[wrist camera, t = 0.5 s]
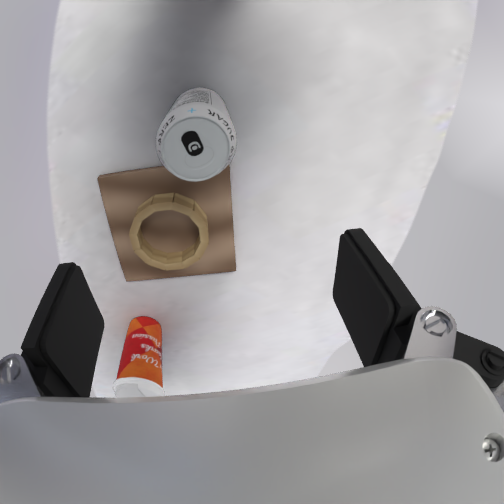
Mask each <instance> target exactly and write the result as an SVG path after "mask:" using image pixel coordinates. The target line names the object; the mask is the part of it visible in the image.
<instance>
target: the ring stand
mask: <svg viewBox="0 0 504 504" xmlns="http://www.w3.org/2000/svg"><path fill="white" fill-rule="evenodd" d="M97 179H98V183H99V187H100V192H101V196H102V200H103V204H104V208H105V211H106V215H107V219H108V223H109V226H110V230H111V233H112V237H113V240H114V244H115V247H116V250H117V254H118V257H119V260H120V263H121V267H122V270H123V273H124V276H125V279H126V281H138V280H149V279H159V278H170V277H181V276H191V275H201V274H211V273H221V272H231V271H236V261H235V246H234V231H233V216H232V200H231V184H230V167H229V165H228V166H227V167H226V168H225V169H224V170H223V171H221V172H220V173H219V174H217V175H215V176H213V177H212V178H210V179H207V180H204V181H198V182H194V181H186V180H183V179H180V178H178V177H176V176H175V175H173V174H172V173H171V172H169V171H168V170H167V169H166V168H165V167H164V166H158V167H150V168H143V169H136V170H129V171H123V172H117V173H110V174H104V175H100V176H99V177H98V178H97Z"/></svg>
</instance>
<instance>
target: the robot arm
mask: <svg viewBox="0 0 504 504" xmlns="http://www.w3.org/2000/svg"><path fill="white" fill-rule="evenodd" d="M333 299H334V302H335V304H336V306H337V308H338V310H339V312H340V315H341V317H342V319H343V321H344V323H345V325H346V328H347V330H348V332H349V334H350V336H351V339H352V341H353V343H354V345H355V347H356V350H357V352H358V354H359V356H360V359H361V361H362V363H363V365H364V367H363V368H359V369H354V370H350V371H345V372H340V373H335V374H330V375H325V376H320V377H315V378H310V379H304V380H299V381H293V382H287V383H281V384H275V385H268V386H261V387H254V388H246V389H239V390H230V391H221V392H211V393H201V394H189V395H174V396H156V397H127V398H89V396H90V391H91V386H92V381H93V376H94V371H95V366H96V361H97V356H98V352H99V347H100V343H101V339H102V334H103V330H104V320H103V317H102V315H101V313H100V311H99V309H98V306H97V304H96V302H95V300H94V298H93V295H92V293H91V291H90V289H89V286H88V284H87V282H86V279H85V277H84V275H83V272H82V270H81V268H80V266H76V264H75V263H73V262H71V263H63V264H59V265H58V267H57V269H56V271H55V273H54V275H53V277H52V279H51V281H50V283H49V285H48V287H47V289H46V291H45V293H44V295H43V297H42V299H41V301H40V304H39V306H38V308H37V310H36V312H35V315H34V317H33V319H32V321H31V324H30V326H29V328H28V331H27V333H26V336H25V338H24V341H23V343H22V346H21V349H22V350H23V352H22V354H21V356H20V355H19V354H10V355H7V356H5V357H4V358H3V359H1V360H0V504H504V351H502V350H501V349H500V348H498V347H496V346H493V345H490V344H488V343H485V342H483V341H480V340H478V339H475V338H473V337H470V336H468V335H465V334H463V333H460V332H458V331H457V326H456V322H455V319H454V318H453V317H452V316H451V314H449V313H448V312H447V311H445V310H443V309H441V308H438V307H425V308H422V309H421V307H420V306H419V304H418V303H417V301H416V300H415V298H414V297H413V296H412V294H411V293H410V291H409V290H408V289H407V287H406V286H405V284H404V283H403V281H402V280H401V279H400V277H399V276H398V275H397V273H396V272H395V270H394V269H393V268H392V266H391V265H390V264H389V263H388V262H387V260H386V259H385V258H384V256H383V255H382V254H381V252H380V251H379V250H378V249H377V247H376V246H375V245H374V243H373V242H372V241H371V239H370V238H369V237H368V236H367V234H366V233H365V232H364V230H363V229H361V228H358V229H349V230H346V231H345V233H344V234H342V235H341V236H340V241H339V249H338V257H337V265H336V272H335V280H334V287H333Z"/></svg>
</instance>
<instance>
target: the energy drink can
mask: <svg viewBox="0 0 504 504" xmlns="http://www.w3.org/2000/svg"><path fill="white" fill-rule="evenodd" d="M236 146H237V137H236V132H235V129H234V126H233V123H232V121H231V118H230V116H229V113H228V110H227V108H226V105H225V103H224V101H223V99H222V98H221V97H220V96H219V95H218V94H217V93H216V92H214V91H212V90H210V89H207V88H193V89H190V90H187V91H186V92H184V93H182V94H181V95H180V96H179V97H178V98H177V100H176V101H175V103H174V104H173V106H172V107H171V109H170V110H169V112H168V113H167V115H166V117H165V118H164V120H163V121H162V123H161V125H160V127H159V129H158V132H157V136H156V150H157V154H158V157H159V159H160V161H161V163H162V164H163V165H164V167H165V168H166V169H167V170H168V171H169V172H171V173H172V174H173V175H175V176H176V177H178V178H180V179H183V180H186V181H194V182H198V181H204V180H207V179H210V178H212V177H213V176H215V175H217V174H219V173H220V172H221V171H223V170H224V169H225V168H226V167H227V166H228V165H229V163H230V162H231V160H232V158H233V157H234V154H235V151H236Z"/></svg>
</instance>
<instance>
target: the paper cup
mask: <svg viewBox="0 0 504 504" xmlns="http://www.w3.org/2000/svg"><path fill="white" fill-rule="evenodd" d="M113 390H114V392H115V396H116V398H127V397H156V396H165V391H164V389H163V384H162V331H161V326H160V324H159V323H158V322H157V321H156V320H155V319H153V318H150V317H145V316H140V317H136V318H134V319H133V320H132V321H131V322H130V324H129V328H128V331H127V335H126V339H125V343H124V347H123V352H122V356H121V360H120V365H119V369H118V374H117V379H116V380H115V381H114V382H113Z"/></svg>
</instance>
